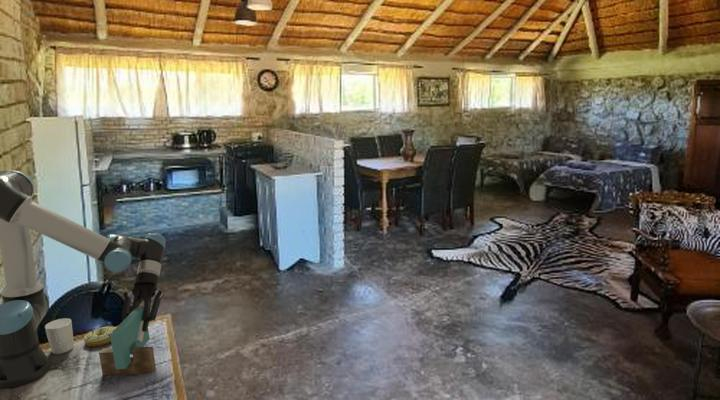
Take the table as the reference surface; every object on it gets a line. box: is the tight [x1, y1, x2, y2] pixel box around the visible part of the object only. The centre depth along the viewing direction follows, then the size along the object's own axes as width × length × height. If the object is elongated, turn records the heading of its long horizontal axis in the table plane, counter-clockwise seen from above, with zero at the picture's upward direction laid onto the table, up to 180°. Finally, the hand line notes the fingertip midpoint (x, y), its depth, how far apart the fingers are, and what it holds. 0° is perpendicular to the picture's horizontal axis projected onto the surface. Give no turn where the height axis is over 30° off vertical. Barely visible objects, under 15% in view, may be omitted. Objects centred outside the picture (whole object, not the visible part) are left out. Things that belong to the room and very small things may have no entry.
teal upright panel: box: [110, 306, 151, 369], centre depth 151 cm, size 18×3×12 cm, turn 2°
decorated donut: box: [83, 325, 117, 348], centre depth 170 cm, size 10×11×4 cm
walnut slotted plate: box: [98, 346, 157, 376], centre depth 149 cm, size 16×2×8 cm, turn 92°
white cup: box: [44, 317, 74, 355], centre depth 164 cm, size 8×8×10 cm
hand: (133, 341), depth 153 cm, fingers closed on teal upright panel, 3 cm apart
